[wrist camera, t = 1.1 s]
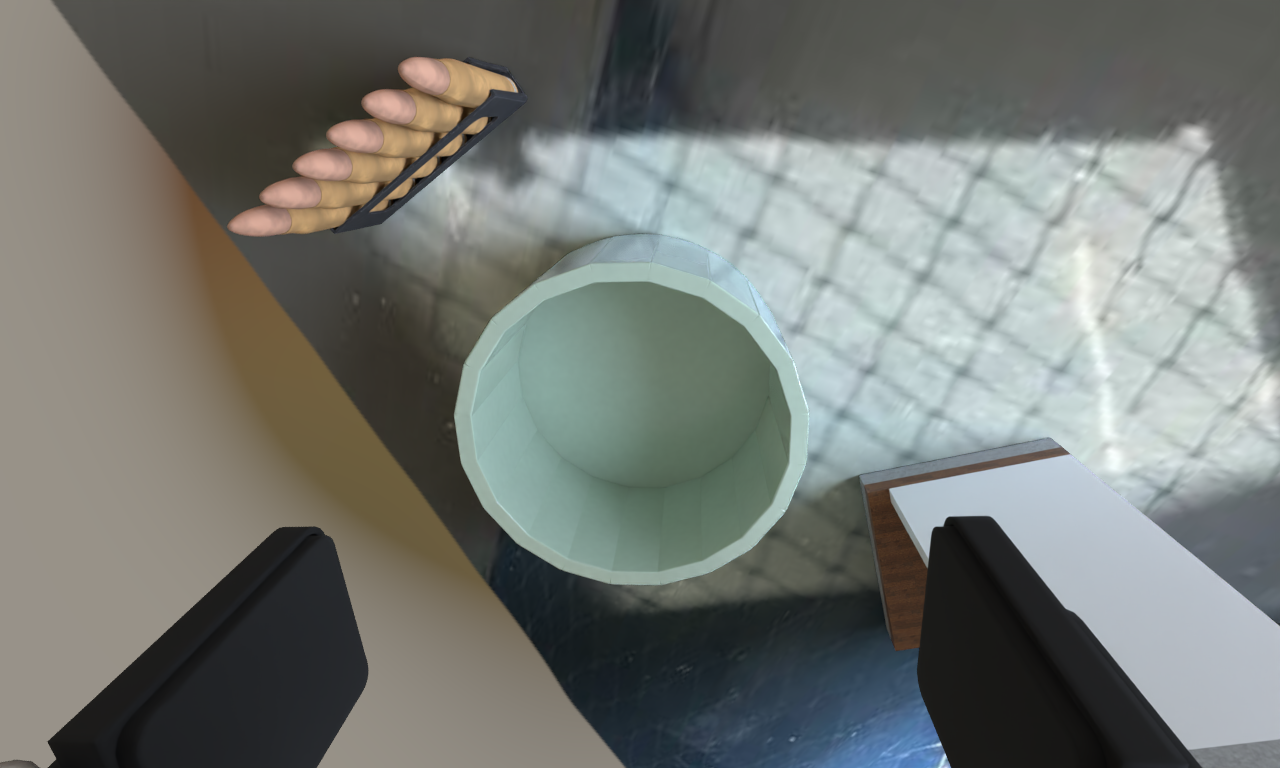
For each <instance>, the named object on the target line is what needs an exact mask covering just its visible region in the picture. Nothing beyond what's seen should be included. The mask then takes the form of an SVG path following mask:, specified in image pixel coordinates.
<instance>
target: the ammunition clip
mask: <svg viewBox="0 0 1280 768" xmlns="http://www.w3.org/2000/svg"><path fill="white" fill-rule="evenodd" d="M398 72H399V74H400V76H401V78H402V79H403V80H404V81H405V82H406V83H407V84H409V85H410V86H411V87H413V88H409V89H406V90H399V89H397V90H394V89H381V90H377V91H374V92H371V93H369V94H367V95H366V96H365V97H364V98H363V99H362V102H361V103H362V106H363V108H364V109H365V111H367V112H368V113H369V114H370V115H372V116H373V117H375V118H373V119H363V120H349V121H344V122H341V123H338V124H336V125H334V126H332V127H331V128H330V129H329V130H328V131H327V133H326V137H327V139H328V140H329V141H330V142H331V143H332V144H334V145H336V146H337V147H334V148H331V149H320V150H316V151H312V152H309V153H306V154H304V155H302V156H301V157H299V158H298V159H297V160H296V161H295V162H294V163H293V166H292V167H293V169H294V170H295V171H296V172H297V173H298V174H300V175H302V176H300V177H294V178H289V179H285V180H282V181H279V182H276V183H274V184H272V185H270V186H268V187H267V188H265V189H264V190H263V191H262V192H261V194H260V196H259V199H260V200H261V201H262V202H264V203H265V204H268V205H262V206H258V207H255V208H252V209H249V210H246V211H244V212H242V213H240V214H238V215H237V216H235V217H234V218H233V219H232V220H231V221H230V222H229V223H228V226H227V227H228V229H229V230H230V231H232V232H234V233H237V234H240V235H246V236H258V237H259V236H272V235H278V234H289V233H298V234H307V233H312V232H316V231H321V230H325V229H330V230H331V231H332V232H333V233H334V234H336V233H341V232H346V231H350V230H355V229H360V228H364V227H369V226H373V225H378V224H382V223H383V222H384V221H385V220H386V219H388V218H389V217H390V216H391V215H392V214H393V213H395V212H396V211H397V210H398V209H399V208H401V207H402V206H403V205H404V204H405V203H407V202H408V201H409V200H410V199H411V198H412V197H414V196H415V195H416V194H417V193H418V192H420V191H421V190H422V189H423V188H424V187H426V186H427V185H428V184H429V183H430V182H431V181H433V180H434V179H435V178H436V177H437V176H439V175H440V174H441V173H442V172H443V171H445V170H446V169H447V168H448V167H449V166H450V165H452V164H453V163H454V162H455V161H456V160H458V159H459V158H460V157H461V156H462V155H464V154H465V153H466V152H467V151H468V150H469V149H471V148H472V147H473V146H474V145H475V144H477V143H478V142H479V141H480V140H481V139H483V138H484V137H485V136H486V135H487V134H488V133H490V132H491V131H492V130H493V129H494V128H496V127H497V126H498V125H499V124H500V123H502V122H503V121H504V120H505V119H506V118H508V117H509V116H510V115H511V114H512V113H513V112H515V111H516V110H517V109H518V108H519V107H521V106H522V105H523V104H524V103H525V102H526V101H527V96H526V94H525V93H524V92H523V90H522V89H521V87H520V86H519V84H518V83H517V82H516V80H515V79H514V77H513V76H512V75H511V73H510V72H509V70H508V69H507V67H503V66H499V65H495V64H491V63H487V62H483V61H480V60H477V59H473V58H470V57H468V58H467V59H465V60H464V61H463V62H461V61H457V60H454V59H446V58H444V59H440V60H439V59H431V58H426V57H412V58H409V59H406V60H404V61H402V62H401V63H400V64H399V66H398Z"/></svg>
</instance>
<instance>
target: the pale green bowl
mask: <svg viewBox="0 0 1280 768" xmlns="http://www.w3.org/2000/svg"><path fill="white" fill-rule="evenodd" d="M454 413H455V414H454V420H455V426H456V433H457V440H458V446H459V453H460V460H461V464H462V466H463V468H464V470H465V472H466V474H467V476H468V478H469V480H470V482H471V484H472V486H473V488H474V490H475V492H476V494H477V496H478V498H479V500H480V502H481V504H482V506H483V508H484V509H485V510H486V511H487V512H488V513H489V515H490V516H491V517H492V518H493V519H494V520H495V521H496V522H497V523H498V524H499V525H500V526H501V527H502V528H503V529H504V530H505V531H506V532H507V534H508V535H509V536H510V537H511V538H512V539H513V540H514V541H515V542H516V543H517V544H519V545H520V546H522V547H523V548H525V549H527V550H528V551H530V552H532V553H533V554H535V555H537V556H538V557H540V558H542V559H543V560H545V561H547V562H548V563H550V564H552V565H553V566H555V567H557V568H558V569H560V570H561V569H562V570H563V571H566V572H569V573H573V574H576V575H579V576H583V577H586V578H590V579H593V580H597V581H600V582H604V583H607V584H613V585H658V586H659V585H660V584H661V585H665V584H669V583H673V582H677V581H681V580H685V579H689V578H693V577H697V576H701V575H705V574H708V573H711V572H713V571H715V570H716V569H718V568H720V567H721V566H723V565H725V564H727V563H728V562H730V561H732V560H734V559H735V558H737V557H739V556H740V555H742V554H744V553H746V552H747V551H749V550H751V549H752V547H754V546H755V545H756V544H757V543H758V542H759V541H760V539H761V538H762V537H763V536H764V535H765V534H766V533H767V532H768V531H769V530H770V529H771V527H772V526H773V525H774V524H775V523H776V522H777V521H778V520H779V519H780V518H781V516H782V515H783V514H784V513H785V510H787V508H788V506H789V504H790V501H791V499H792V497H793V494H794V492H795V490H796V487H797V485H798V483H799V480H800V478H801V476H802V473H803V471H804V469H805V465H806V463H807V447H808V431H809V409H808V406H807V403H806V399H805V396H804V393H803V389H802V386H801V383H800V379H799V376H798V373H797V369H796V366H795V363H794V360H793V358H792V356H791V354H790V351H789V349H788V347H787V345H786V343H785V340H784V338H783V336H782V334H781V332H780V329H779V327H778V325H777V323H776V321H775V318H774V316H773V314H772V312H771V311H770V309H769V308H768V306H767V305H766V304H765V302H764V301H763V299H762V298H761V296H760V295H759V293H758V291H757V290H756V289H755V288H754V287H753V285H752V284H751V283H750V282H749V280H748V279H747V278H746V277H745V276H744V275H743V274H742V273H740V272H739V271H738V270H737V269H736V268H735V267H734V266H733V265H732V264H730V263H729V262H727V261H726V260H724V259H723V258H721V257H720V256H719V255H717V254H716V253H714V252H712V251H710V250H708V249H706V248H704V247H702V246H700V245H697V244H694V243H691V242H689V241H686V240H683V239H680V238H675V237H670V236H665V235H656V234H628V235H620V236H614V237H610V238H605V239H602V240H599V241H596V242H594V243H591V244H588V245H586V246H584V247H582V248H580V249H577V250H574V251H572V252H570V253H568V254H567V255H566V256H565V257H563V258H562V259H561V260H560V261H558V262H557V263H556V264H555V265H554V266H552V267H551V268H550V269H549V270H547V271H546V272H545V273H544V274H542V275H541V276H540V277H539V278H538V279H536V280H535V281H534V282H533V283H532V284H530V285H529V286H528V287H527V288H526V289H525V290H523V291H522V292H521V293H520V294H519V295H518V296H516V297H515V298H514V299H513V300H512V301H511V302H509V303H508V304H507V305H506V306H505V307H503V308H502V309H501V310H500V311H499V312H498V313H496V314H495V315H494V316H493V317H492V318H491V319H490V321H489V322H488V324H487V326H486V327H485V329H484V330H483V332H482V334H481V335H480V337H479V339H478V340H477V342H476V344H475V345H474V347H473V349H472V350H471V352H470V354H469V355H468V357H467V359H466V360H465V364H464V365H463V369H462V374H461V380H460V385H459V390H458V395H457V400H456V405H455V411H454Z"/></svg>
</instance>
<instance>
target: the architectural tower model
mask: <svg viewBox="0 0 1280 768" xmlns="http://www.w3.org/2000/svg"><path fill="white" fill-rule="evenodd" d="M859 478H860V484H861V490H862V495H863V501H864V506H865V512H866V517H867V523H868V528H869V534H870V539H871V545H872V550H873V556H874V561H875V567H876V573H877V578H878V584H879V589H880V595H881V600H882V606H883V611H884V617H885V622H886V628H887V630H888V633H889V635H890V638H891V640H892V643H893V645H894V648H895V650H896V651H899V650H905V649H912V648H919V647H920V637H921V628H922V618H923V608H924V599H925V589H926V580H927V570H928V561H929V551H930V542H931V534H932V530H933V528H934V527H940V526H944V522H945V520H946V518H948V517H949V516H990V517H992V518H993V519H994V520H995V521H996V522H997V523H998V524H999V526H1000V527H1001V528H1002V530H1003V531H1004V532H1005V533H1006V535H1007V536H1008V537H1009V538H1010V540H1011V541H1012V542H1013V543H1014V545H1015V546H1016V547H1017V548H1018V550H1019V551H1020V552H1021V553H1022V555H1023V556H1024V557H1025V558H1026V560H1027V561H1028V562H1029V563H1030V565H1031V566H1032V567H1033V568H1034V570H1035V571H1036V572H1037V573H1038V575H1039V576H1040V577H1041V579H1042V580H1043V581H1044V582H1045V584H1046V585H1047V586H1048V587H1049V589H1050V590H1051V591H1052V592H1053V594H1054V595H1055V596H1056V597H1057V599H1058V600H1059V601H1060V602H1061V604H1062V605H1063V606H1064V607H1065V609H1068V610H1070V611H1072V612H1074V613H1075V614H1076V615H1077V616H1079V617H1080V618H1081V619H1082V620H1083V621H1084V623H1085V624H1086V625H1087V626H1088V628H1089V629H1090V630H1091V631H1092V633H1093V634H1094V635H1095V636H1096V637H1097V639H1098V640H1099V641H1100V642H1101V644H1102V645H1103V646H1104V647H1105V649H1106V650H1107V651H1108V652H1109V653H1110V655H1111V656H1112V657H1113V658H1114V660H1115V661H1116V662H1117V663H1118V665H1119V666H1120V667H1121V668H1122V669H1123V671H1124V672H1125V673H1126V674H1127V676H1128V677H1129V678H1130V679H1131V681H1132V682H1133V683H1134V684H1135V685H1136V687H1137V688H1138V689H1139V690H1140V692H1141V693H1142V694H1143V695H1144V697H1145V698H1146V699H1147V700H1148V701H1149V703H1150V704H1151V705H1152V706H1153V708H1154V709H1155V710H1156V711H1157V713H1158V714H1159V715H1160V716H1161V717H1162V719H1163V720H1164V721H1165V722H1166V724H1167V725H1168V726H1169V727H1170V729H1171V730H1172V731H1173V732H1174V734H1175V735H1176V736H1177V737H1178V738H1179V740H1180V741H1181V742H1182V743H1183V745H1184V746H1185V747H1186V748H1187V750H1188V751H1189V752H1190V753H1191V754H1192V756H1193V757H1194V758H1195V759H1196V761H1197V762H1198V763H1199V764H1200V766H1201V767H1202V768H1280V626H1279V625H1278V624H1277V623H1275V622H1274V621H1273V620H1272V619H1270V618H1269V617H1268V616H1267V615H1266V614H1264V613H1263V612H1262V611H1261V610H1260V609H1258V608H1257V607H1256V606H1255V605H1253V604H1252V603H1251V602H1250V601H1249V600H1247V599H1246V598H1245V597H1244V596H1243V595H1241V594H1240V593H1239V592H1238V591H1236V590H1235V589H1234V588H1233V587H1232V586H1230V585H1229V584H1228V583H1227V582H1225V581H1224V580H1223V579H1222V578H1221V577H1219V576H1218V575H1217V574H1216V573H1215V572H1213V571H1212V570H1211V569H1210V568H1208V567H1207V566H1206V565H1205V564H1204V563H1202V562H1201V561H1200V560H1199V559H1198V558H1196V557H1195V556H1194V555H1193V554H1191V553H1190V552H1189V551H1188V550H1187V549H1185V548H1184V547H1183V546H1182V545H1180V544H1179V543H1178V542H1177V541H1176V540H1174V539H1173V538H1172V537H1171V536H1170V535H1168V534H1167V533H1166V532H1165V531H1163V530H1162V529H1161V528H1160V527H1159V526H1157V525H1156V524H1155V523H1154V522H1153V521H1151V520H1150V519H1149V518H1148V517H1146V516H1145V515H1144V514H1143V513H1142V512H1140V511H1139V510H1138V509H1137V508H1135V507H1134V506H1133V505H1132V504H1131V503H1129V502H1128V501H1127V500H1126V499H1125V498H1123V497H1122V496H1121V495H1120V494H1118V493H1117V492H1116V491H1115V490H1114V489H1112V488H1111V487H1110V486H1109V485H1108V484H1106V483H1105V482H1104V481H1103V480H1101V479H1100V478H1099V477H1098V476H1097V475H1095V474H1094V473H1093V472H1092V471H1090V470H1089V469H1088V468H1087V467H1086V466H1084V465H1083V464H1082V463H1081V462H1080V461H1078V460H1077V459H1076V458H1075V457H1073V456H1072V455H1071V454H1070V453H1069V452H1067V451H1066V450H1065V449H1064V448H1063V447H1061V446H1060V445H1059V444H1058V443H1056V442H1055V441H1054V440H1053V439H1052V438H1047V439H1042V440H1037V441H1032V442H1027V443H1022V444H1016V445H1011V446H1006V447H1001V448H996V449H991V450H986V451H981V452H975V453H970V454H965V455H960V456H955V457H950V458H945V459H939V460H934V461H929V462H924V463H919V464H914V465H909V466H904V467H898V468H893V469H888V470H883V471H878V472H873V473H868V474H863V475H859Z"/></svg>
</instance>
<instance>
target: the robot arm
mask: <svg viewBox="0 0 1280 768" xmlns="http://www.w3.org/2000/svg"><path fill="white" fill-rule="evenodd" d="M917 675H918V683H919V688H920V692H921V695H922V698H923V700H924V702H925V705H926V707H927V710H928V712H929V715H930V717H931V719H932V722H933V724H934V727H935V729H936V732H937V734H938V736H939V739H940V741H941V744H942V746H943V749H944V751H945V753H946V756H947V758H948V761H949V763H950V766H951V768H1202V767H1201V766H1200V764H1199V763H1198V762H1197V761H1196V759H1195V758H1194V757H1193V756H1192V754H1191V753H1190V752H1189V751H1188V750H1187V748H1186V747H1185V746H1184V745H1183V743H1182V742H1181V741H1180V740H1179V738H1178V737H1177V736H1176V735H1175V734H1174V732H1173V731H1172V730H1171V729H1170V727H1169V726H1168V725H1167V724H1166V722H1165V721H1164V720H1163V719H1162V717H1161V716H1160V715H1159V714H1158V713H1157V711H1156V710H1155V709H1154V708H1153V706H1152V705H1151V704H1150V703H1149V701H1148V700H1147V699H1146V698H1145V697H1144V695H1143V694H1142V693H1141V692H1140V690H1139V689H1138V688H1137V687H1136V685H1135V684H1134V683H1133V682H1132V681H1131V679H1130V678H1129V677H1128V676H1127V674H1126V673H1125V672H1124V671H1123V669H1122V668H1121V667H1120V666H1119V665H1118V663H1117V662H1116V661H1115V660H1114V658H1113V657H1112V656H1111V655H1110V653H1109V652H1108V651H1107V650H1106V649H1105V647H1104V646H1103V645H1102V644H1101V642H1100V641H1099V640H1098V639H1097V637H1096V636H1095V635H1094V634H1093V633H1092V631H1091V630H1090V629H1089V628H1088V626H1087V625H1086V624H1085V623H1084V621H1083V620H1082V619H1081V618H1080V617H1079V616H1077V615H1076V614H1075V613H1074V612H1072V611H1070V610H1068V609H1065V607H1064V606H1063V605H1062V604H1061V602H1060V601H1059V600H1058V599H1057V597H1056V596H1055V595H1054V594H1053V592H1052V591H1051V590H1050V589H1049V587H1048V586H1047V585H1046V584H1045V582H1044V581H1043V580H1042V579H1041V577H1040V576H1039V575H1038V573H1037V572H1036V571H1035V570H1034V568H1033V567H1032V566H1031V565H1030V563H1029V562H1028V561H1027V560H1026V558H1025V557H1024V556H1023V555H1022V553H1021V552H1020V551H1019V550H1018V548H1017V547H1016V546H1015V545H1014V543H1013V542H1012V541H1011V540H1010V538H1009V537H1008V536H1007V535H1006V533H1005V532H1004V531H1003V530H1002V528H1001V527H1000V526H999V524H998V523H997V522H996V521H995V520H994V519H993V518H992V517H990V516H949V517H948V518H946V520H945V522H944V526H940V527H934V528H933V530H932V534H931V542H930V551H929V561H928V570H927V580H926V589H925V599H924V608H923V618H922V628H921V637H920V647H919V656H918V666H917ZM367 678H368V663H367V659H366V656H365V653H364V649H363V645H362V642H361V638H360V634H359V631H358V627H357V624H356V620H355V616H354V613H353V609H352V605H351V602H350V598H349V595H348V591H347V587H346V584H345V580H344V577H343V573H342V569H341V566H340V562H339V558H338V555H337V551H336V548H335V544H334V542H333V540H332V538H331V537H329V536H327V535H325V534H324V532H323V531H322V530H321V529H320V528H318V527H282V528H279V529H277V530H276V531H274V532H273V533H272V534H271V535H270V536H269V537H268V538H266V539H265V540H264V541H263V542H262V543H261V544H260V545H259V546H258V547H257V548H256V549H255V550H254V551H252V552H251V553H250V554H249V555H248V556H247V557H246V558H245V559H244V560H243V561H242V562H241V563H240V564H238V565H237V566H236V567H235V568H234V569H233V570H232V571H231V572H230V573H229V574H228V575H227V576H226V577H224V578H223V579H222V580H221V581H220V582H219V583H218V584H217V585H216V586H215V587H214V588H213V589H211V590H210V592H208V593H207V594H206V595H205V596H204V597H203V598H202V599H201V600H200V601H199V602H198V603H196V604H195V605H194V606H193V607H192V608H191V609H190V610H189V611H188V612H187V613H186V614H185V615H184V616H182V617H181V618H180V619H179V620H178V621H177V622H176V623H175V624H174V625H173V626H172V627H171V628H170V629H168V630H167V631H166V632H165V633H164V634H163V635H162V636H161V637H160V638H159V639H158V640H157V641H156V642H154V643H153V644H152V645H151V646H150V647H149V648H148V649H147V650H146V651H145V652H144V653H143V654H141V655H140V657H138V658H137V659H136V660H135V661H134V662H133V663H132V664H131V665H130V666H129V667H127V668H126V670H124V671H123V672H122V673H121V674H120V675H119V676H118V677H117V678H116V679H115V680H113V681H112V682H111V683H110V684H109V685H108V686H107V687H106V688H105V689H104V690H103V691H102V692H101V693H99V694H98V695H97V696H96V697H95V698H94V699H93V700H92V701H91V702H90V703H89V704H88V705H87V706H85V707H84V708H83V709H82V710H81V711H80V712H79V713H78V714H77V715H76V716H75V717H74V718H73V719H71V721H69V722H68V723H67V724H66V725H65V726H64V727H63V728H62V729H61V730H60V731H59V732H57V733H56V734H55V735H54V736H53V737H52V738H51V739H50V740H49V741H48V744H49V746H50V748H51V749H52V751H53V753H54V755H55V757H56V760H55V761H54V762H53V763H52V764H51V765H50V766H49V767H48V768H317V766H318V765H319V763H320V761H321V760H322V758H323V756H324V754H325V753H326V751H327V749H328V748H329V746H330V745H331V743H332V741H333V740H334V738H335V736H336V735H337V733H338V732H339V730H340V728H341V727H342V725H343V723H344V722H345V720H346V718H347V717H348V715H349V713H350V711H351V710H352V708H353V706H354V705H355V703H356V702H357V700H358V698H359V697H360V695H361V693H362V691H363V690H364V688H365V685H366V682H367ZM0 768H39V767H38V766H37V765H36V764H34V763H33V762H31V761H22V760H13V761H7V762H1V763H0Z"/></svg>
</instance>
